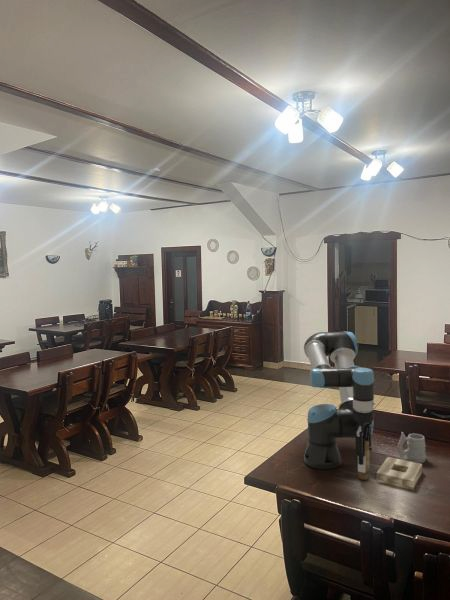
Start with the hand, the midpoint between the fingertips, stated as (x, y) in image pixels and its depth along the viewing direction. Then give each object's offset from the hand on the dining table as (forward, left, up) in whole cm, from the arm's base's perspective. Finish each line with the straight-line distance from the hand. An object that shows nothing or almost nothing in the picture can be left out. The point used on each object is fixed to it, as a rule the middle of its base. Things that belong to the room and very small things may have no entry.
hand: (363, 469), depth 173 cm
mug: (+12, +27, -4) cm, 29 cm away
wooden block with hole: (+11, +9, -4) cm, 15 cm away
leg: (0, 0, -3) cm, 3 cm away
